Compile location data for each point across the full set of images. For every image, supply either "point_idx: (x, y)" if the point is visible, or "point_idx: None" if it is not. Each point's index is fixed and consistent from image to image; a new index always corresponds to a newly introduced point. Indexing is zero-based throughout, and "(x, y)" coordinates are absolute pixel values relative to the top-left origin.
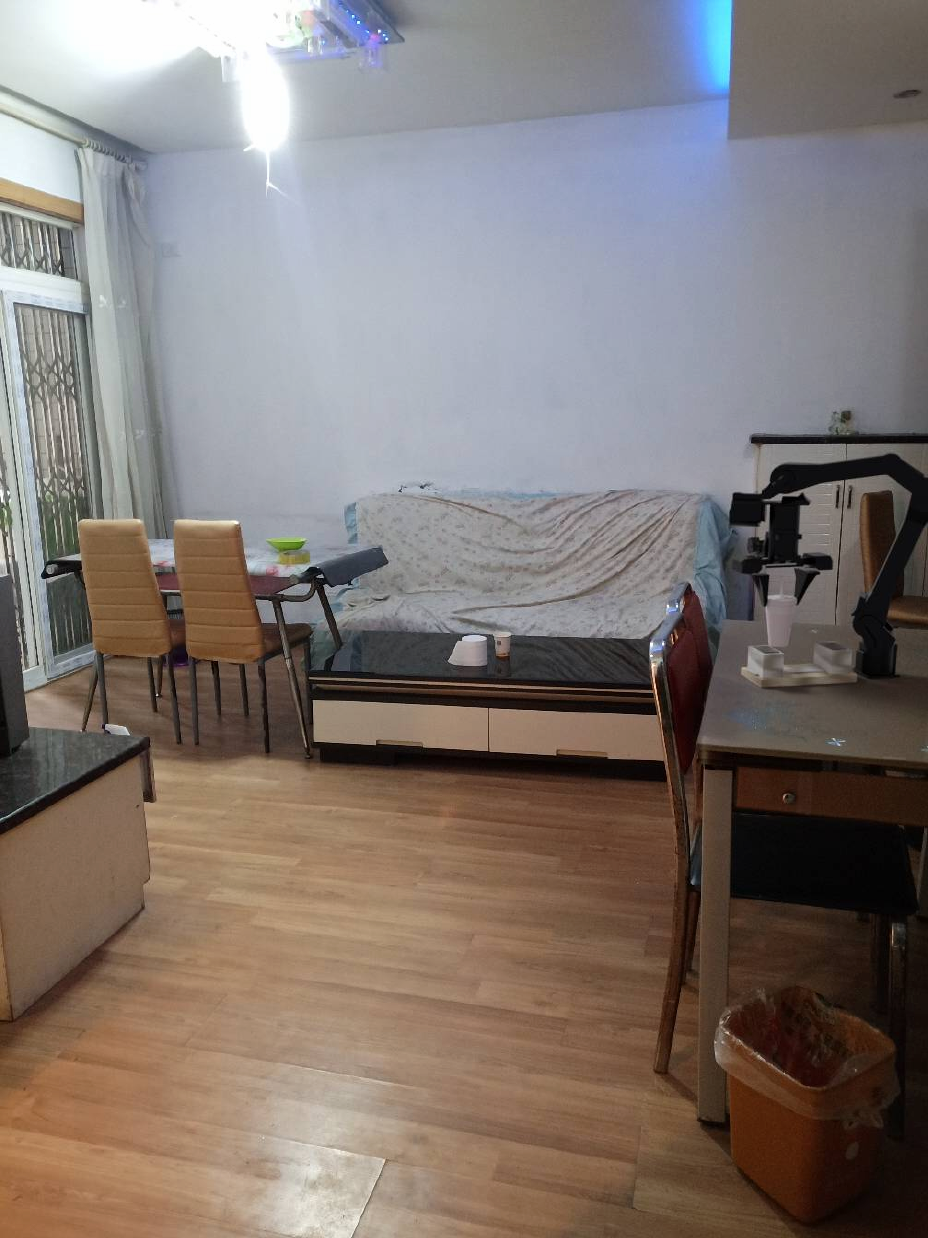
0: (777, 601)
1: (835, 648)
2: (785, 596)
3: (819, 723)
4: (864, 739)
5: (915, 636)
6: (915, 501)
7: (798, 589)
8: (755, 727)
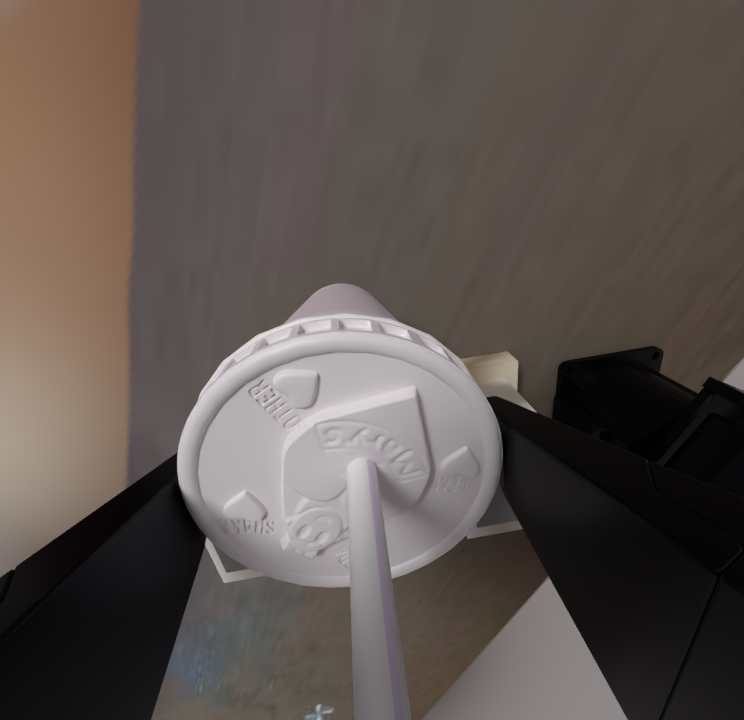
0: (287, 579)
1: (492, 521)
2: (407, 462)
3: (317, 666)
4: None
5: None
6: None
7: (563, 548)
8: (201, 688)
